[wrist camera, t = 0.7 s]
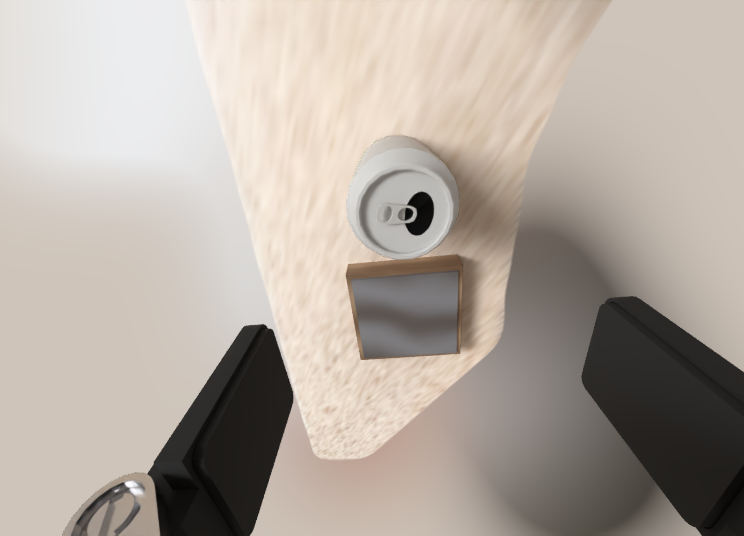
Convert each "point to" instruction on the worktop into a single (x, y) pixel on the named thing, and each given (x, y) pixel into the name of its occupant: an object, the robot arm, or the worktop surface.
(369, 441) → the worktop surface
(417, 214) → the can
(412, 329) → the plinth
